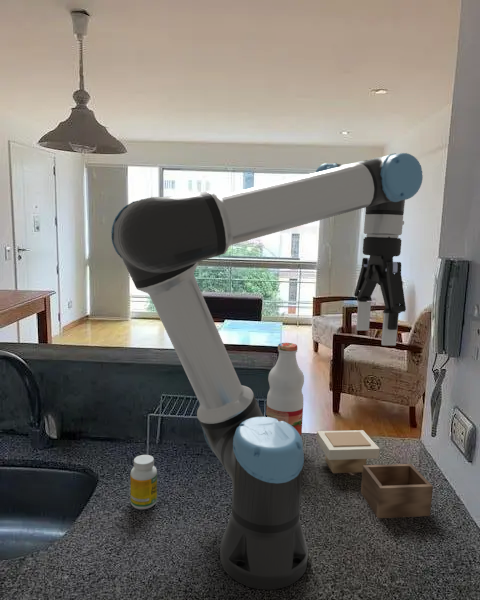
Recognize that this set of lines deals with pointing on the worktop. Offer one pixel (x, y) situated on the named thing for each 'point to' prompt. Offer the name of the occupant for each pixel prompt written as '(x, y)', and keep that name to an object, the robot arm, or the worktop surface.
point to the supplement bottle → (143, 482)
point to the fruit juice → (286, 388)
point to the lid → (347, 445)
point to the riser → (346, 465)
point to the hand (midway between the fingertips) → (374, 337)
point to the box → (396, 490)
